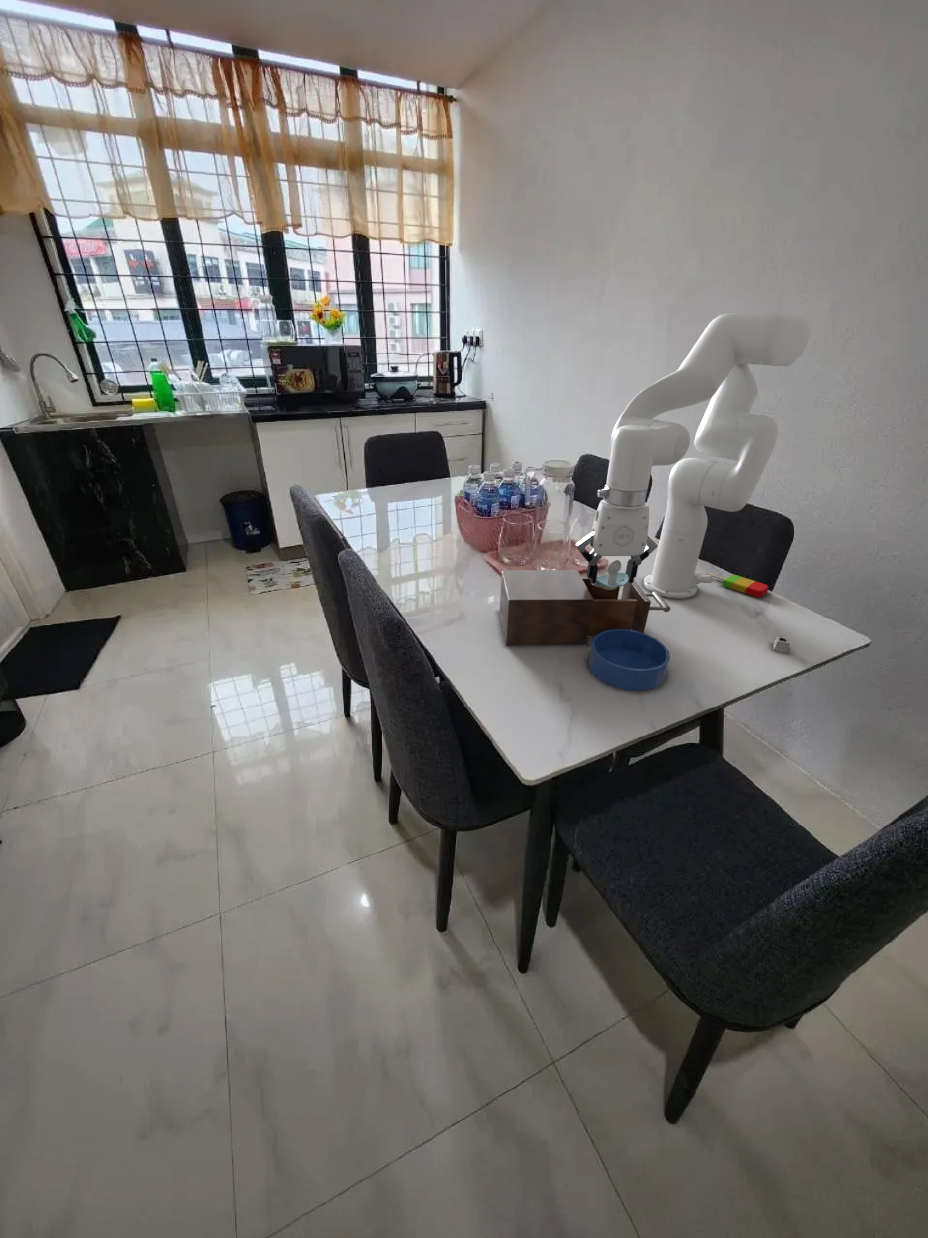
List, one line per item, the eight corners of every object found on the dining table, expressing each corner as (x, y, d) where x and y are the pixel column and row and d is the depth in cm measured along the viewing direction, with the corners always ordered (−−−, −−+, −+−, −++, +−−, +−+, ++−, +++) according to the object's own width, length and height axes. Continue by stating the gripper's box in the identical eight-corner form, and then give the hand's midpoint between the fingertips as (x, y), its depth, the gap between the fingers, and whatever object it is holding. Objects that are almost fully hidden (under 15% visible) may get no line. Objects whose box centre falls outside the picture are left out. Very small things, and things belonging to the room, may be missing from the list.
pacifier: (584, 583, 105) (603, 595, 100) (587, 555, 102) (607, 566, 97) (611, 577, 108) (631, 587, 103) (615, 549, 105) (636, 559, 100)
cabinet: (571, 612, 115) (577, 570, 110) (586, 644, 103) (593, 599, 98) (499, 612, 114) (501, 570, 109) (505, 645, 103) (509, 599, 97)
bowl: (648, 647, 103) (653, 628, 100) (676, 690, 91) (682, 670, 88) (581, 648, 102) (584, 629, 100) (599, 691, 90) (603, 671, 88)
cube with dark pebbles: (774, 650, 102) (778, 640, 101) (773, 645, 104) (777, 635, 103) (786, 652, 102) (790, 642, 100) (784, 647, 103) (789, 637, 102)
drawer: (648, 609, 115) (656, 574, 110) (669, 638, 104) (679, 601, 100) (556, 610, 114) (561, 575, 109) (568, 639, 103) (573, 602, 99)
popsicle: (760, 599, 122) (762, 592, 121) (699, 579, 131) (701, 572, 130) (768, 592, 125) (770, 585, 124) (708, 573, 134) (710, 566, 133)
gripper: (584, 502, 91) (572, 589, 100) (678, 501, 91) (658, 588, 101) (574, 490, 97) (564, 573, 106) (662, 489, 98) (645, 572, 107)
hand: (610, 579), depth 103 cm, fingers closed on pacifier, 7 cm apart
